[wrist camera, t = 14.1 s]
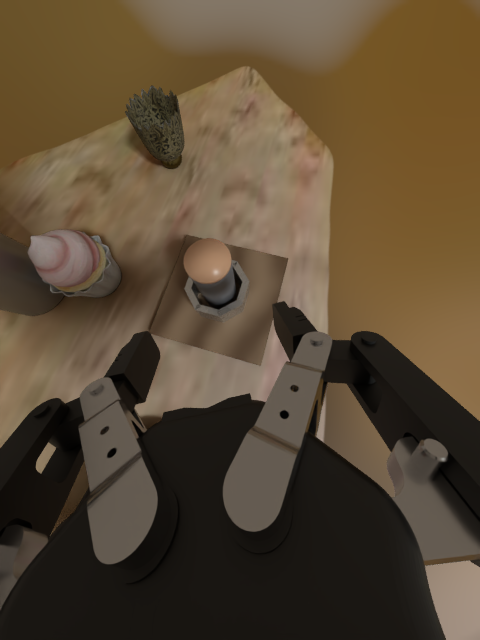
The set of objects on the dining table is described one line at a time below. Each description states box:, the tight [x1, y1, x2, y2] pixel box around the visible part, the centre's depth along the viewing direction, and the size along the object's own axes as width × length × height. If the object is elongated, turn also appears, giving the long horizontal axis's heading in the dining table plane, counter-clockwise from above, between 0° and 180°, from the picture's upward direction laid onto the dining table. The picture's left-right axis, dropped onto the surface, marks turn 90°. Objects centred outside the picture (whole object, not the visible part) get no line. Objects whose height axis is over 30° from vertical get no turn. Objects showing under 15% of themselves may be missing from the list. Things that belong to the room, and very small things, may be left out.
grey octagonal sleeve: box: [184, 260, 249, 323], centre depth 26 cm, size 8×8×4 cm
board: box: [150, 235, 288, 366], centre depth 28 cm, size 16×16×1 cm
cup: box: [125, 86, 184, 169], centre depth 31 cm, size 8×7×8 cm
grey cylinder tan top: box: [184, 238, 237, 310], centre depth 23 cm, size 4×4×10 cm
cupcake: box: [27, 230, 121, 298], centre depth 25 cm, size 9×9×10 cm
